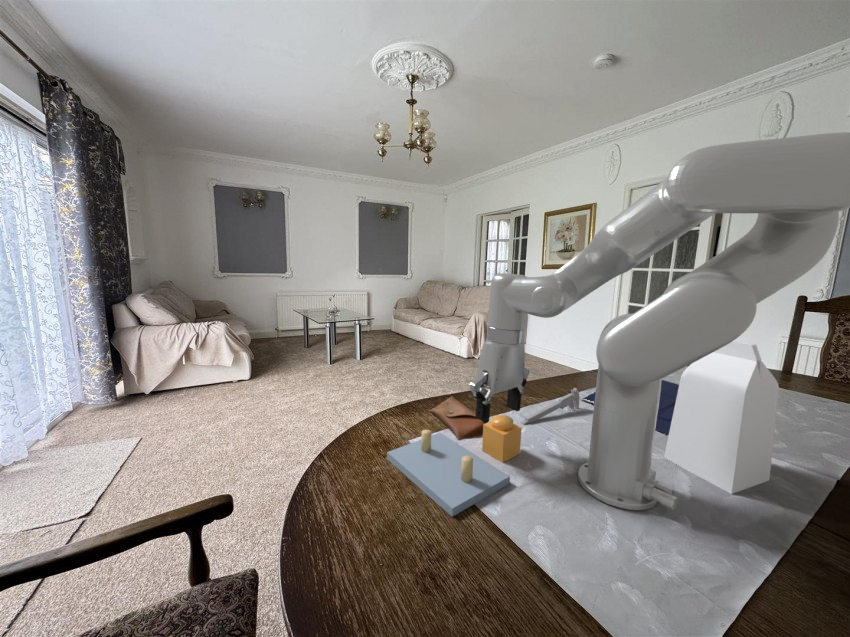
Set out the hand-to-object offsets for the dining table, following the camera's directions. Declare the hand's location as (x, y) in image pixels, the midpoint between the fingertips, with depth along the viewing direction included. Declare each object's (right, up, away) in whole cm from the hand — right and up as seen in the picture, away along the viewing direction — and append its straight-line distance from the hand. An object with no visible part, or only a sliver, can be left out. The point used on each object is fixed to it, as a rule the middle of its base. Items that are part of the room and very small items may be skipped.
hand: (498, 414), depth 72 cm
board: (-12, -9, -6) cm, 16 cm away
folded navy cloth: (+50, -5, +26) cm, 56 cm away
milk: (+42, -10, -4) cm, 43 cm away
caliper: (+18, -6, +19) cm, 27 cm away
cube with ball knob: (+1, -8, +1) cm, 8 cm away
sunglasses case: (-8, -7, +15) cm, 18 cm away
